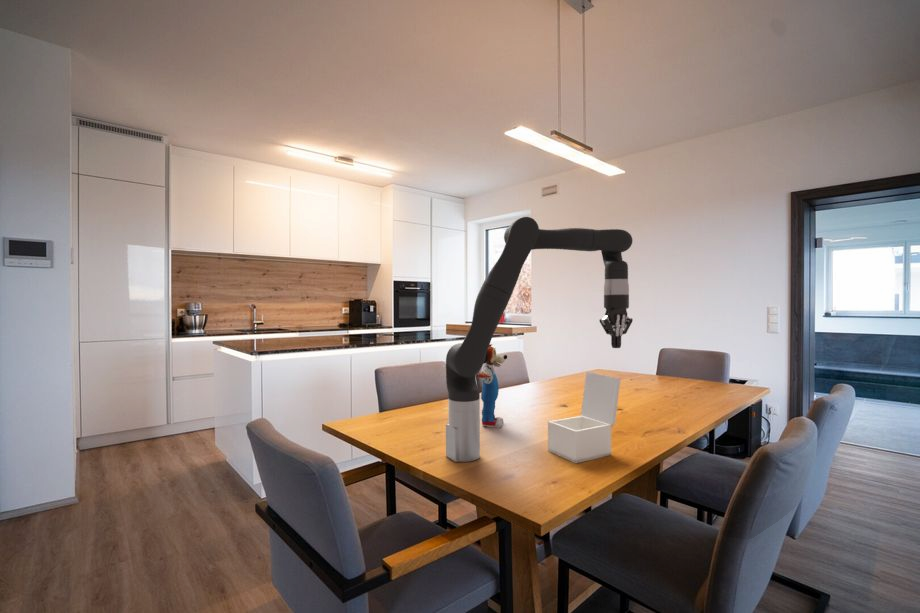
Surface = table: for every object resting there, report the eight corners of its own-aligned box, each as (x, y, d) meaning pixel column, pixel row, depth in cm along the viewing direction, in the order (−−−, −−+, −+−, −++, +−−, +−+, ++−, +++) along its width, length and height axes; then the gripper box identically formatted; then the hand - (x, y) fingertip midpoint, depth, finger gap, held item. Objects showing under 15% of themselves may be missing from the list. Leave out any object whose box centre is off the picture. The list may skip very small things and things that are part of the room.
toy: (502, 439, 143) (502, 349, 143) (472, 437, 145) (472, 348, 145) (511, 413, 176) (511, 340, 176) (486, 412, 178) (486, 340, 178)
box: (575, 463, 121) (575, 431, 121) (548, 450, 132) (548, 421, 132) (611, 454, 128) (611, 424, 128) (581, 443, 139) (581, 415, 139)
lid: (618, 378, 129) (621, 378, 129) (586, 372, 140) (589, 372, 141) (612, 425, 128) (615, 425, 128) (580, 415, 139) (583, 415, 140)
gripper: (610, 293, 131) (610, 350, 131) (640, 293, 137) (640, 347, 137) (592, 293, 137) (592, 347, 138) (621, 294, 144) (621, 345, 144)
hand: (616, 347), depth 137 cm, fingers closed
